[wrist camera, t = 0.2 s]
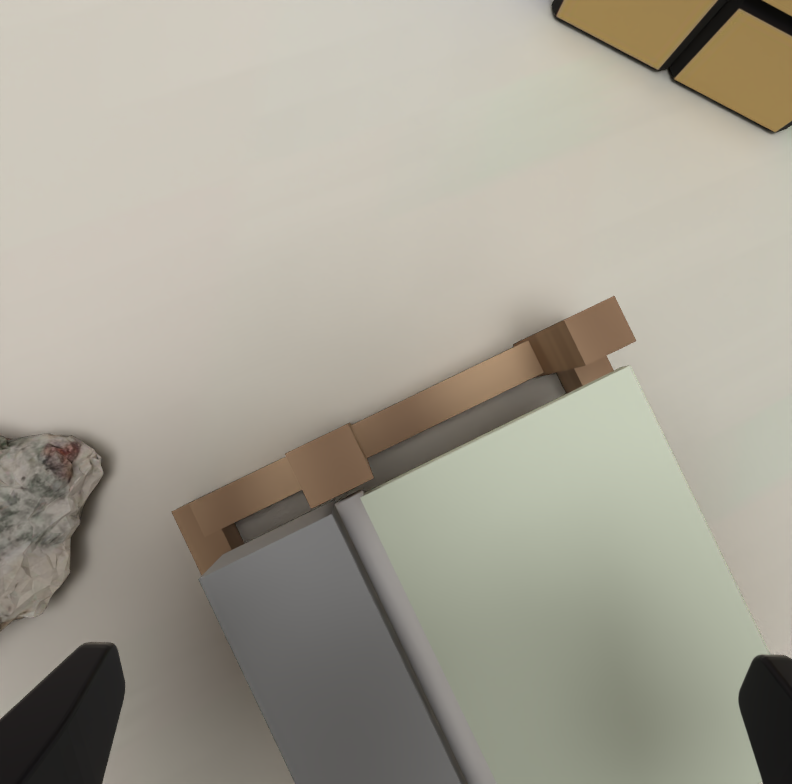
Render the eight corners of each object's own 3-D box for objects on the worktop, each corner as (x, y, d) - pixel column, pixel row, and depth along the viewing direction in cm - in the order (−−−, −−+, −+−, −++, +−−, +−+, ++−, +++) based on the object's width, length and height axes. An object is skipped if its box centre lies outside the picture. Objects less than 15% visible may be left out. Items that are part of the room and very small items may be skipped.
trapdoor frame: (364, 879, 24) (371, 1141, 15) (185, 501, 24) (90, 547, 15) (739, 677, 25) (945, 815, 16) (566, 319, 25) (677, 265, 16)
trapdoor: (392, 912, 19) (400, 1004, 16) (221, 550, 19) (196, 575, 16) (760, 712, 20) (832, 764, 17) (594, 369, 20) (636, 360, 17)
